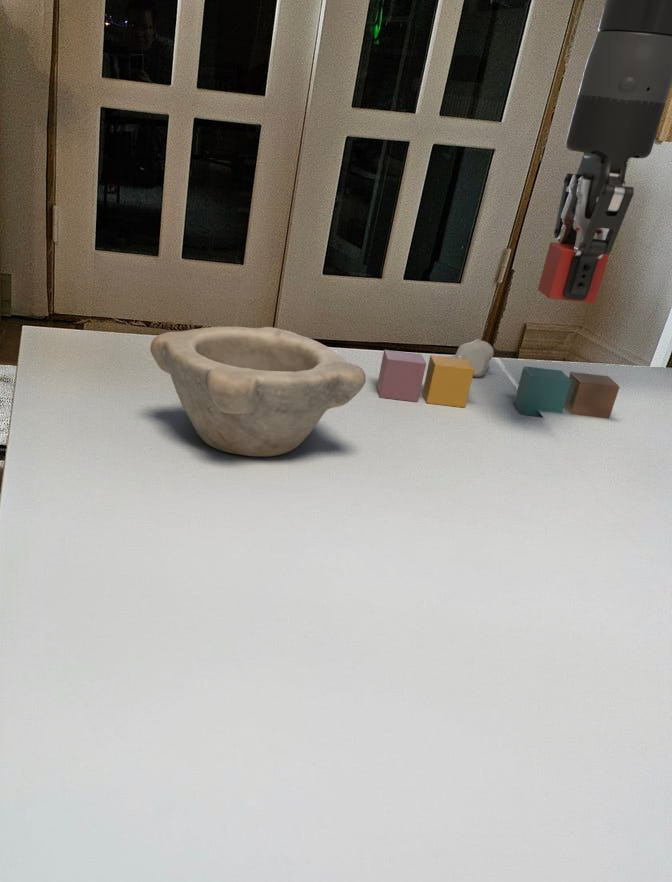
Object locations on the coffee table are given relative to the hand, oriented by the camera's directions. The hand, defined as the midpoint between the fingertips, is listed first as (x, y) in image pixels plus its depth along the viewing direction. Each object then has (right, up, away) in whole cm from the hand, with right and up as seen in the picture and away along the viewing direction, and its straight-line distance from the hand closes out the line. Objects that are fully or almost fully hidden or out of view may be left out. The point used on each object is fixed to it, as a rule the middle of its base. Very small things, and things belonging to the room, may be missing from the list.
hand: (566, 292), depth 93 cm
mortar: (-32, -15, -1) cm, 35 cm away
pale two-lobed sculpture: (0, +1, +32) cm, 32 cm away
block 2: (-7, -6, +19) cm, 21 cm away
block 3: (+4, -7, +18) cm, 20 cm away
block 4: (+9, -8, +18) cm, 22 cm away
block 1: (-13, -5, +19) cm, 23 cm away
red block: (0, 0, 0) cm, 0 cm away
